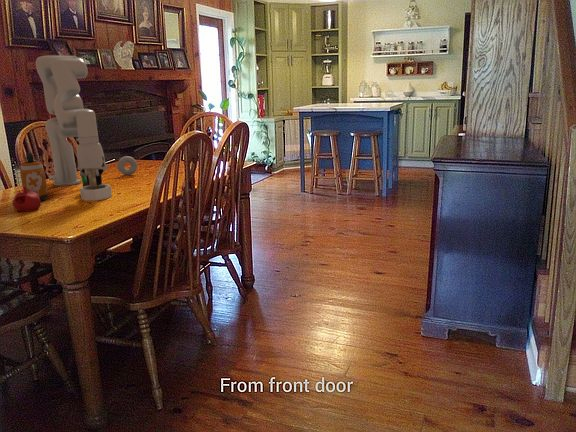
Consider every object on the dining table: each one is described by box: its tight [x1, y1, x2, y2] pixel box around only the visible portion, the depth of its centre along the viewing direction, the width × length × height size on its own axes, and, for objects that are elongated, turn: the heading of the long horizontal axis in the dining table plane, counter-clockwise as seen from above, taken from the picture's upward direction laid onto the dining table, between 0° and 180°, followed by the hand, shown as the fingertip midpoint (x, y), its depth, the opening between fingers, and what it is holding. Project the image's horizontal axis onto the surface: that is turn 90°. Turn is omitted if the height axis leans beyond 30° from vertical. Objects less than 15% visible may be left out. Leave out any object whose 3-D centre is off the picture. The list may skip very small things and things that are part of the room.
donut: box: [116, 155, 138, 176], centre depth 257 cm, size 10×4×10 cm, turn 109°
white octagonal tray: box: [79, 183, 113, 202], centre depth 208 cm, size 11×11×4 cm
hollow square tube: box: [86, 183, 105, 190], centre depth 208 cm, size 6×6×4 cm
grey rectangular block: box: [88, 169, 100, 187], centre depth 206 cm, size 3×3×9 cm
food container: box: [79, 170, 103, 187], centre depth 221 cm, size 12×6×10 cm, turn 168°
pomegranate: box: [11, 186, 42, 212], centre depth 190 cm, size 10×10×9 cm
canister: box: [19, 152, 49, 202], centre depth 206 cm, size 9×11×20 cm
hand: (94, 184), depth 207 cm, fingers closed on grey rectangular block, 3 cm apart
